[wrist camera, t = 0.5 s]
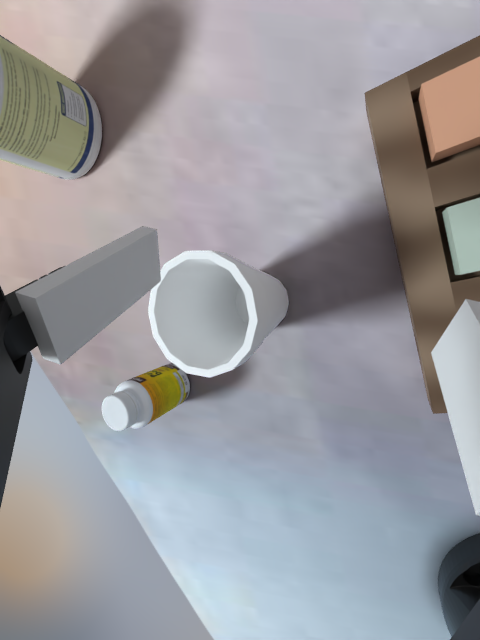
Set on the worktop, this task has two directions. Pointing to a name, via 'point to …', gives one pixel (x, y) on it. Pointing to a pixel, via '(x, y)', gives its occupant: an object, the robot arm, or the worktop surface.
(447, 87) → the terracotta tile
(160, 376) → the supplement bottle
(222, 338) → the foam cup
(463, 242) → the sage tile
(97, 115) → the supplement tub
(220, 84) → the worktop surface
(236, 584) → the worktop surface
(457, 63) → the walnut board
